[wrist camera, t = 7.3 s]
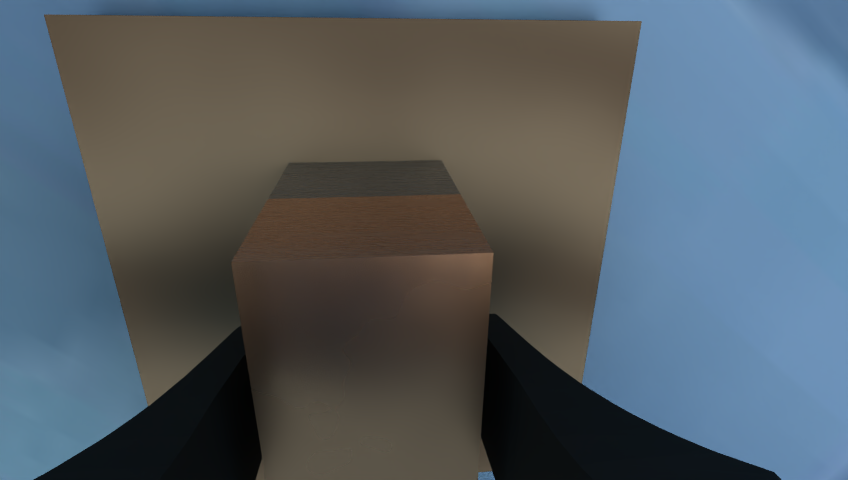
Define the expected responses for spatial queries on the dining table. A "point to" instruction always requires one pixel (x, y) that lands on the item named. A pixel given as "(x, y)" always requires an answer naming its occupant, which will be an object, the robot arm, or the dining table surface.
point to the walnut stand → (343, 152)
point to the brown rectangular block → (366, 323)
